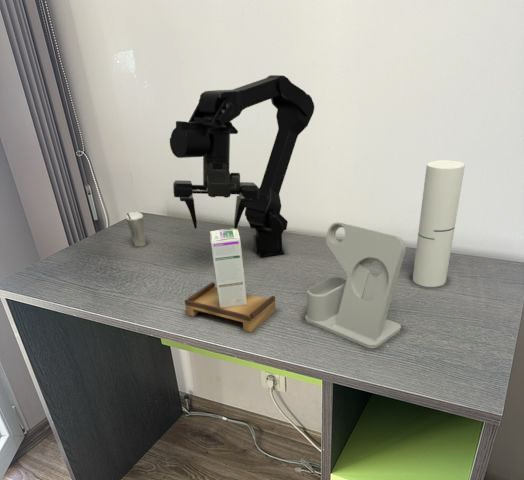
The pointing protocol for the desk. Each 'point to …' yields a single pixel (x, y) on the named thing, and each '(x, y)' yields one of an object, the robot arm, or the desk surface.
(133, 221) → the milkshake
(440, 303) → the desk surface
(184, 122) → the robot arm
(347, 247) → the phone holder
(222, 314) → the wooden tray
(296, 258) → the desk surface
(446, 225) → the cylindrical container
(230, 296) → the syrup box
